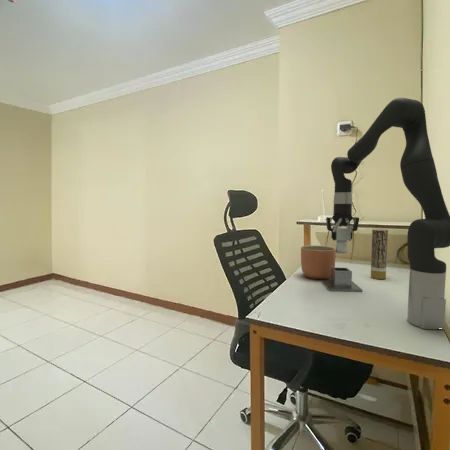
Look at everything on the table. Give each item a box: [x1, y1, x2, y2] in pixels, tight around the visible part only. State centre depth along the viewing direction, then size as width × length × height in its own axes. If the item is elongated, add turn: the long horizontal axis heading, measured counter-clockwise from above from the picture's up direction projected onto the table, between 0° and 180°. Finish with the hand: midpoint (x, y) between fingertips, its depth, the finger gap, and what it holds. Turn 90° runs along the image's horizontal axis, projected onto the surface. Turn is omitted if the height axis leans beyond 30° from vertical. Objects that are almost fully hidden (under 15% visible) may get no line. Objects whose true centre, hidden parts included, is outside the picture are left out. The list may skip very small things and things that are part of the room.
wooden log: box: [370, 227, 389, 280], centre depth 143 cm, size 7×7×25 cm
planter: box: [300, 244, 337, 280], centre depth 145 cm, size 17×17×15 cm
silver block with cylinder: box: [334, 227, 352, 254], centre depth 129 cm, size 9×6×11 cm, turn 174°
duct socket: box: [320, 266, 363, 293], centre depth 129 cm, size 14×14×8 cm
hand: (341, 240), depth 127 cm, fingers closed on silver block with cylinder, 6 cm apart
